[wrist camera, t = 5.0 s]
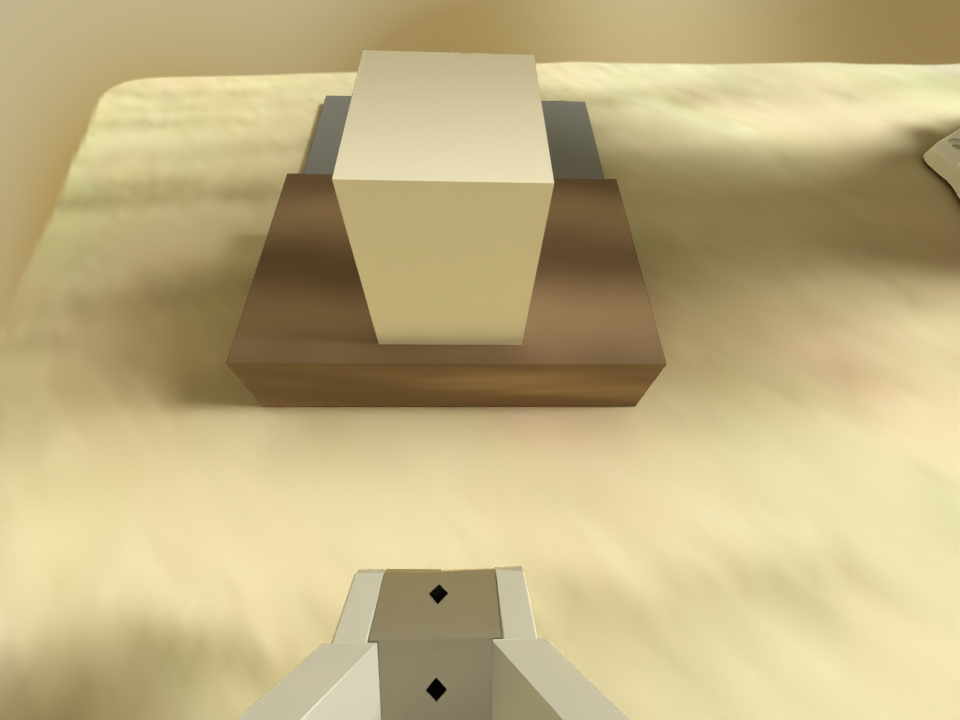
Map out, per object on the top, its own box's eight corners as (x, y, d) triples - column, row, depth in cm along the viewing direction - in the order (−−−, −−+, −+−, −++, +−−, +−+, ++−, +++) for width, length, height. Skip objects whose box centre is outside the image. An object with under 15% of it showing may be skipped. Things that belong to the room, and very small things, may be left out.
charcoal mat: (328, 103, 35) (326, 95, 35) (583, 109, 36) (584, 101, 35) (292, 229, 28) (289, 222, 27) (613, 234, 29) (616, 226, 28)
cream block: (392, 227, 23) (362, 50, 16) (512, 229, 23) (533, 55, 16) (378, 344, 19) (331, 179, 12) (521, 344, 19) (554, 183, 12)
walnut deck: (308, 230, 28) (287, 173, 25) (597, 234, 29) (616, 179, 25) (263, 406, 22) (226, 363, 18) (635, 406, 22) (666, 364, 19)
